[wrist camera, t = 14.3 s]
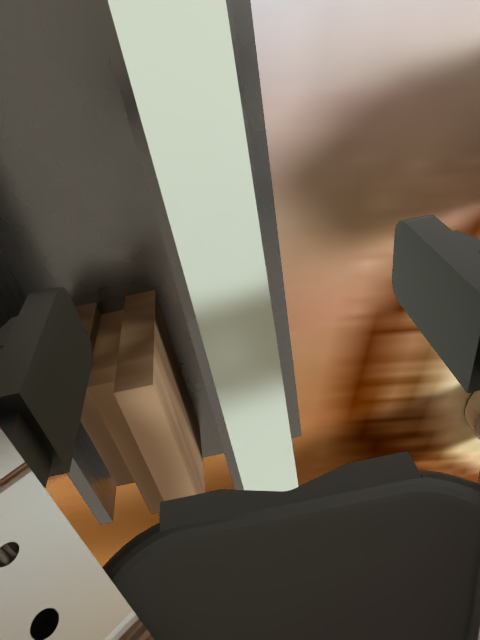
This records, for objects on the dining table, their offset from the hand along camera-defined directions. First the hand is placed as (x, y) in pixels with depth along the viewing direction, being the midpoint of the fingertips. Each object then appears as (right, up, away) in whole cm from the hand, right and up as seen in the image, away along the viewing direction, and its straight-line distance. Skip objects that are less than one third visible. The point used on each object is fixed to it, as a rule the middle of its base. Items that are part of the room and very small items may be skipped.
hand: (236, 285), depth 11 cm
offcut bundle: (-7, -5, +23) cm, 24 cm away
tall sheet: (-2, +9, +13) cm, 16 cm away
